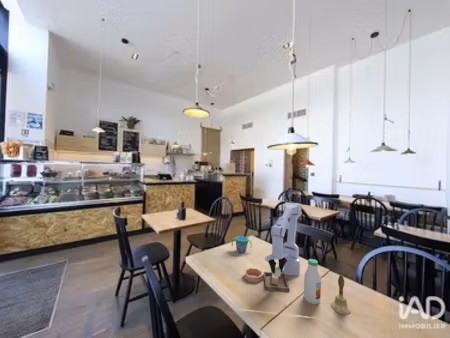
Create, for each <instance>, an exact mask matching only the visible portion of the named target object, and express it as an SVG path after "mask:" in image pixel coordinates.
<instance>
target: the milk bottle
mask: <svg viewBox="0 0 450 338" xmlns="http://www.w3.org/2000/svg"><path fill="white" fill-rule="evenodd" d="M318 267H319V262H318V260H317V259H315V258H314V259H313V258H309V259H308V260H307V268H306V270H305V273H304V281H303V298H304V300H305V301H306V302H308V303H309V304H313V305H319V304H320V303H321V295H322V293H321V292H322V289H321V287H322V285H321V284H322V277H321V274H320V272H319V269H318Z"/></svg>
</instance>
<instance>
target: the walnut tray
mask: <svg viewBox="0 0 450 338" xmlns="http://www.w3.org/2000/svg"><path fill="white" fill-rule="evenodd" d="M271 275H272V272H271V271H263V280H264V288H265V290H268V291H278V292H279V291H280V292H290V286H289V283H288V280H287V277H286V274H285V273H284V272H281V277H280V276H278V285H277V284H272V277H271Z"/></svg>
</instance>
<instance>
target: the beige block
mask: <svg viewBox="0 0 450 338" xmlns="http://www.w3.org/2000/svg"><path fill="white" fill-rule="evenodd" d="M272 284H277V285H278V276H274V275H272Z"/></svg>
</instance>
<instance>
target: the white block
mask: <svg viewBox="0 0 450 338" xmlns="http://www.w3.org/2000/svg"><path fill="white" fill-rule="evenodd" d="M281 273H282V272H281V270H280V268H279V266H275V274H274V276H280V277H281Z"/></svg>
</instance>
